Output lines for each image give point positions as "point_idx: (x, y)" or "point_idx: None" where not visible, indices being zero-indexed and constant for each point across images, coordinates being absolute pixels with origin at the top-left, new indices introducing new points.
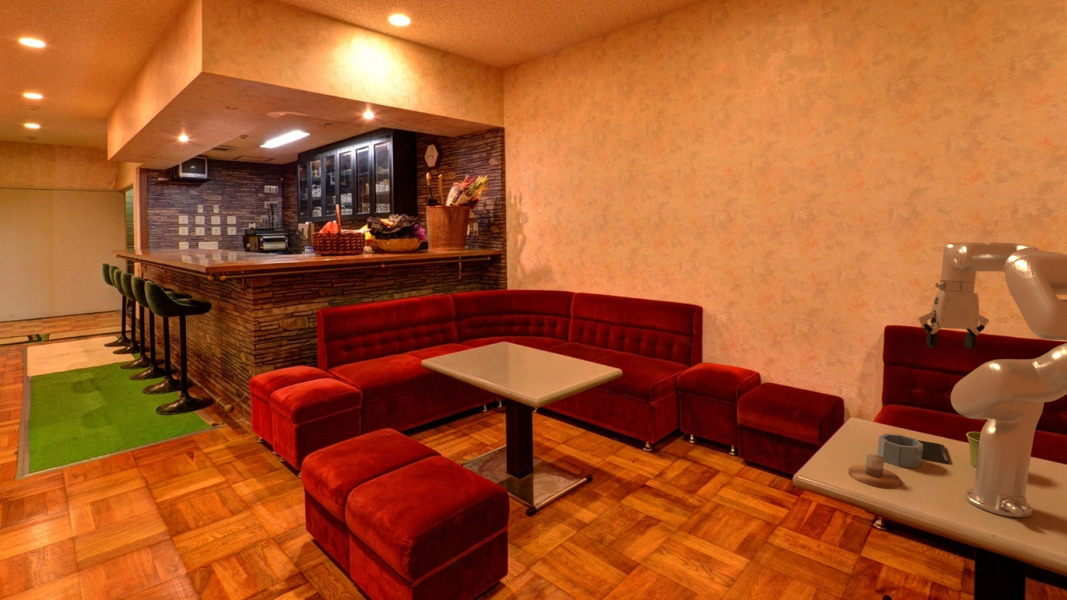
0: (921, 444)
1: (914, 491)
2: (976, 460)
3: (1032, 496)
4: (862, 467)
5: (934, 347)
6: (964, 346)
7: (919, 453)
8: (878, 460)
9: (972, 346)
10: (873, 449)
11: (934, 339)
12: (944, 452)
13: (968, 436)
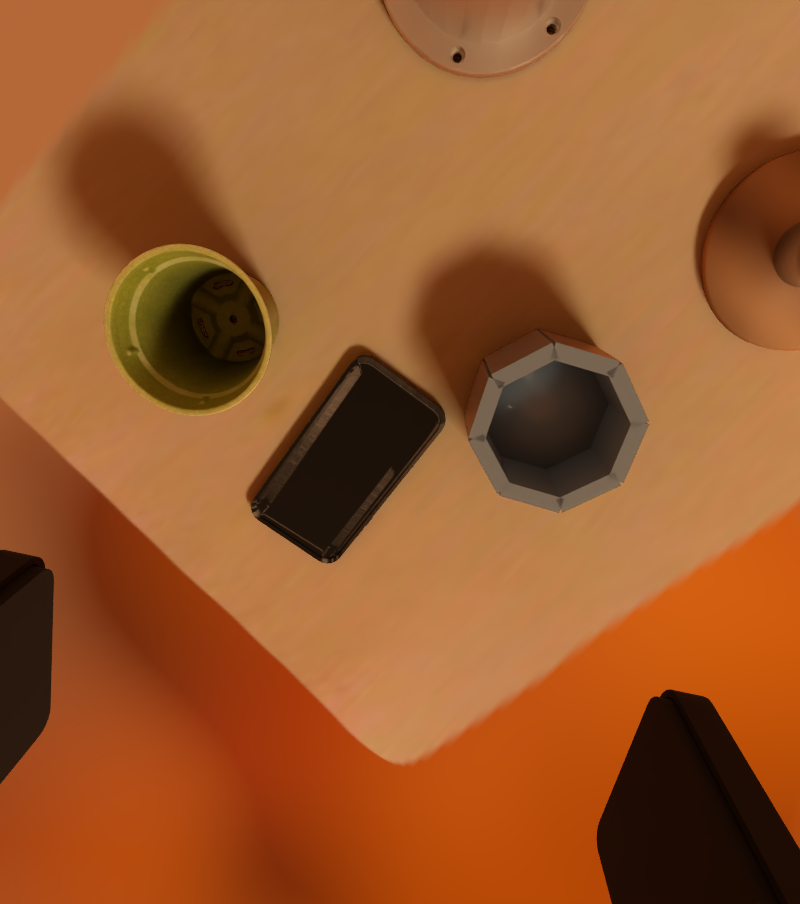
0: (496, 378)
1: (738, 107)
2: (272, 310)
3: (264, 26)
4: (797, 323)
5: (698, 697)
6: (46, 721)
7: (515, 353)
8: None
9: (8, 579)
10: None
11: (782, 852)
12: (302, 443)
13: (266, 361)
